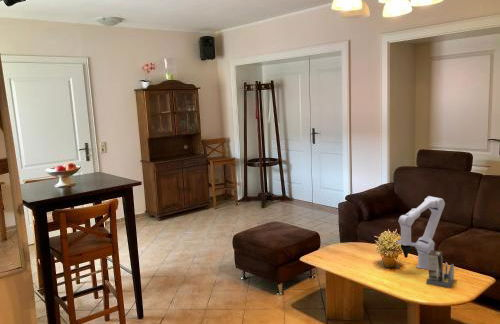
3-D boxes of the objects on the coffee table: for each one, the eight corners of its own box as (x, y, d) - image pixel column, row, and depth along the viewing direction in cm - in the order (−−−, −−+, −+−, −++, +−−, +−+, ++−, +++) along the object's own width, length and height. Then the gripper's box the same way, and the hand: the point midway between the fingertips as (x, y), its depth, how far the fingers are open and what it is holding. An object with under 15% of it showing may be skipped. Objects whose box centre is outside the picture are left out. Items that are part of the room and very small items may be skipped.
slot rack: (430, 275, 237) (430, 259, 236) (453, 279, 231) (453, 263, 229) (426, 283, 227) (426, 267, 225) (450, 288, 220) (450, 271, 219)
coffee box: (441, 284, 225) (440, 256, 223) (428, 282, 229) (427, 254, 227) (443, 278, 232) (442, 251, 231) (431, 276, 236) (430, 249, 234)
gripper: (391, 235, 242) (392, 257, 243) (417, 238, 234) (417, 261, 235) (394, 232, 247) (394, 253, 249) (419, 235, 239) (419, 257, 241)
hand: (406, 257), depth 243 cm, fingers closed
